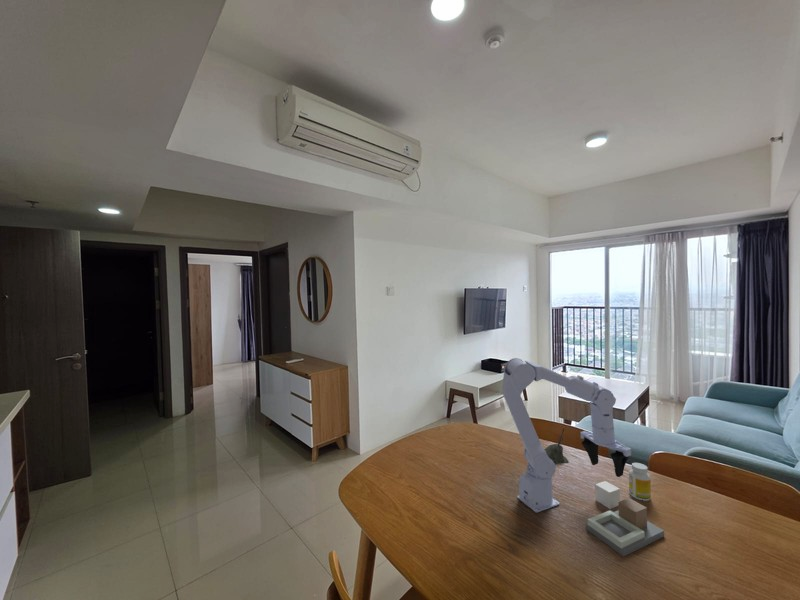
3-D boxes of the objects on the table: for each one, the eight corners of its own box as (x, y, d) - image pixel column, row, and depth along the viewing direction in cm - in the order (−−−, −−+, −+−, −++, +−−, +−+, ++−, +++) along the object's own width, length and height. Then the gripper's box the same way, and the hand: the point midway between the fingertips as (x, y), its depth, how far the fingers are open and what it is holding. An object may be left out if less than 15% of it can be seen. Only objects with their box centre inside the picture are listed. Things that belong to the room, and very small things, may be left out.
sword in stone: (542, 462, 121) (541, 430, 121) (538, 453, 128) (537, 423, 129) (571, 465, 118) (570, 432, 119) (565, 455, 126) (564, 425, 126)
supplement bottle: (625, 493, 101) (624, 463, 101) (636, 489, 103) (636, 459, 103) (643, 503, 96) (642, 471, 96) (655, 499, 98) (654, 468, 98)
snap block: (610, 509, 94) (609, 492, 94) (595, 500, 98) (595, 484, 98) (620, 505, 95) (619, 488, 95) (605, 496, 100) (605, 480, 99)
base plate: (623, 556, 77) (623, 529, 77) (585, 528, 86) (585, 505, 86) (664, 536, 83) (663, 511, 83) (624, 512, 92) (624, 490, 92)
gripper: (636, 430, 92) (640, 477, 92) (589, 415, 105) (593, 455, 105) (620, 436, 89) (624, 484, 89) (574, 420, 102) (578, 461, 102)
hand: (606, 469), depth 97 cm, fingers open, 7 cm apart
